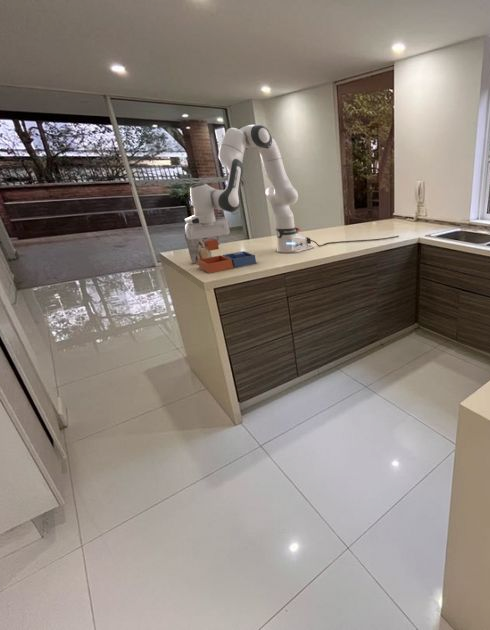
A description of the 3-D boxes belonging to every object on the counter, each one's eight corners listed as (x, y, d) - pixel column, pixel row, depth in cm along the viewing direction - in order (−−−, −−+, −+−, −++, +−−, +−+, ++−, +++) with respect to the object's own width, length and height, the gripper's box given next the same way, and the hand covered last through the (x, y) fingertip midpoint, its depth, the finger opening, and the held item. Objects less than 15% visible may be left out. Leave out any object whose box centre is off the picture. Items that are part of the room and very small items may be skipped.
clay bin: (222, 263, 186) (220, 255, 184) (233, 268, 178) (231, 259, 176) (199, 268, 178) (197, 259, 176) (209, 273, 170) (207, 264, 168)
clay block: (215, 247, 177) (213, 238, 175) (219, 249, 174) (217, 239, 172) (205, 249, 174) (203, 239, 172) (209, 250, 171) (206, 240, 169)
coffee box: (202, 259, 195) (196, 230, 188) (212, 259, 193) (206, 231, 187) (191, 263, 186) (184, 234, 180) (201, 264, 185) (194, 234, 179)
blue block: (242, 260, 190) (240, 251, 188) (246, 262, 187) (244, 253, 185) (233, 262, 186) (231, 253, 184) (237, 263, 183) (235, 254, 181)
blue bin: (245, 259, 195) (243, 251, 193) (256, 263, 187) (255, 255, 185) (224, 263, 187) (222, 255, 185) (234, 267, 179) (233, 259, 177)
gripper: (223, 215, 176) (228, 241, 182) (181, 219, 163) (187, 248, 168) (229, 216, 173) (233, 243, 178) (185, 221, 159) (192, 250, 164)
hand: (211, 245), depth 173 cm, fingers closed on clay block, 5 cm apart
